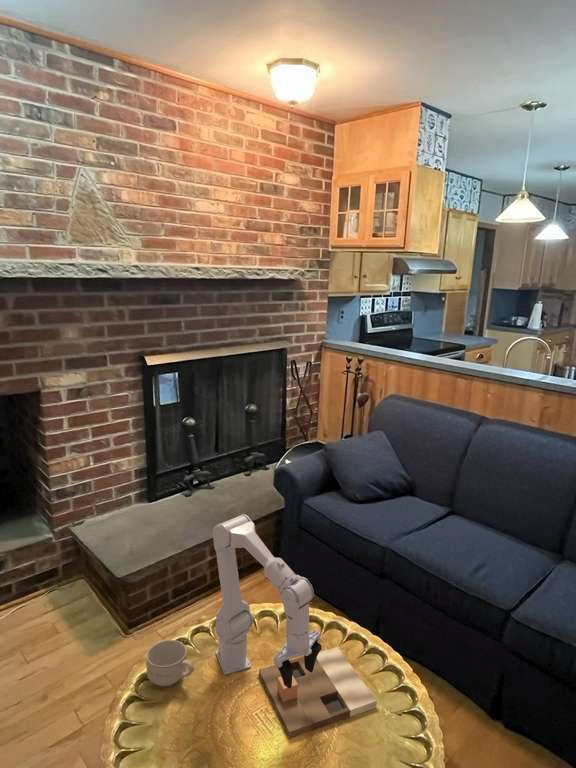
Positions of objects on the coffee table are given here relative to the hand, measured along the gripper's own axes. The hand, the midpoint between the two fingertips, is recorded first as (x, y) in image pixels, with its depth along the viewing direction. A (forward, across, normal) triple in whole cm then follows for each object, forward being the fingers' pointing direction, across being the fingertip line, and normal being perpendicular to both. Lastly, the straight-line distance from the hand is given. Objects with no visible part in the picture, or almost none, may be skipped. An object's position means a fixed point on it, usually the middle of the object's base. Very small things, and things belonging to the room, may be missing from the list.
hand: (298, 677), depth 123 cm
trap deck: (+11, +9, +3) cm, 14 cm away
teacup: (+8, -18, +32) cm, 37 cm away
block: (+8, +1, +5) cm, 10 cm away
